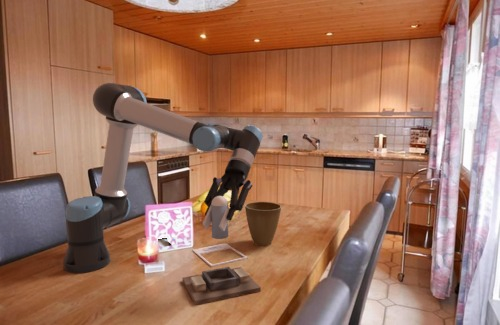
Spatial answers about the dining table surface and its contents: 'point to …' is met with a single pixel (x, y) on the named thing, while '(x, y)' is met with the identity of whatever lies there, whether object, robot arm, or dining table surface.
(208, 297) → the jig board
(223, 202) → the grey cylinder bottle
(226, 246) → the photo frame
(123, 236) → the dining table surface
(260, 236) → the plant pot
